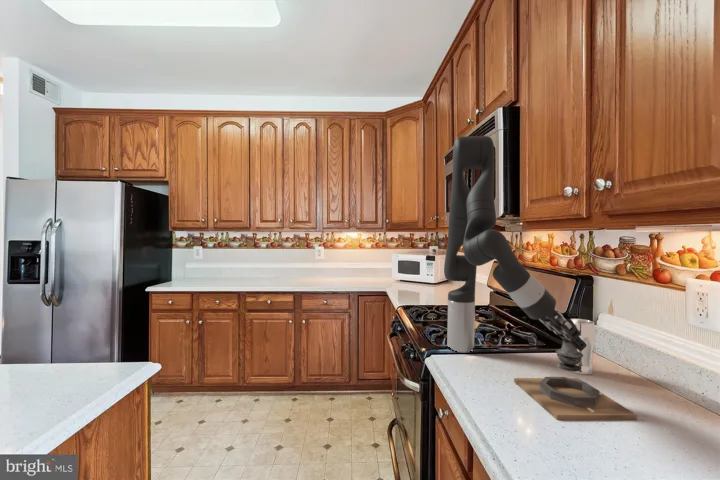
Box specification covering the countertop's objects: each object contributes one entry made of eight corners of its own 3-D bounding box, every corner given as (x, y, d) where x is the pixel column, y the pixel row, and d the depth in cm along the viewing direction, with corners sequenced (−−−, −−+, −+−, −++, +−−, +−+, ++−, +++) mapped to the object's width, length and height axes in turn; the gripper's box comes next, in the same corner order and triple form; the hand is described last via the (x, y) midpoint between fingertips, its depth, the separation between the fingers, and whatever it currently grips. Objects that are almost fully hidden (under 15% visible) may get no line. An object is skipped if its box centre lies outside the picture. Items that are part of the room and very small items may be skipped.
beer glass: (583, 376, 101) (585, 324, 101) (561, 368, 107) (562, 319, 107) (599, 373, 104) (600, 322, 103) (576, 365, 110) (577, 317, 110)
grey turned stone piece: (555, 368, 86) (556, 319, 85) (554, 361, 91) (556, 315, 91) (584, 373, 83) (585, 323, 83) (581, 365, 88) (582, 318, 88)
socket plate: (514, 381, 97) (514, 370, 97) (577, 381, 97) (578, 371, 97) (556, 419, 77) (557, 406, 77) (637, 419, 77) (637, 406, 77)
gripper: (558, 289, 79) (609, 343, 80) (526, 281, 94) (570, 327, 94) (534, 312, 79) (586, 366, 80) (506, 301, 93) (550, 347, 94)
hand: (577, 345), depth 87 cm, fingers closed on grey turned stone piece, 3 cm apart
